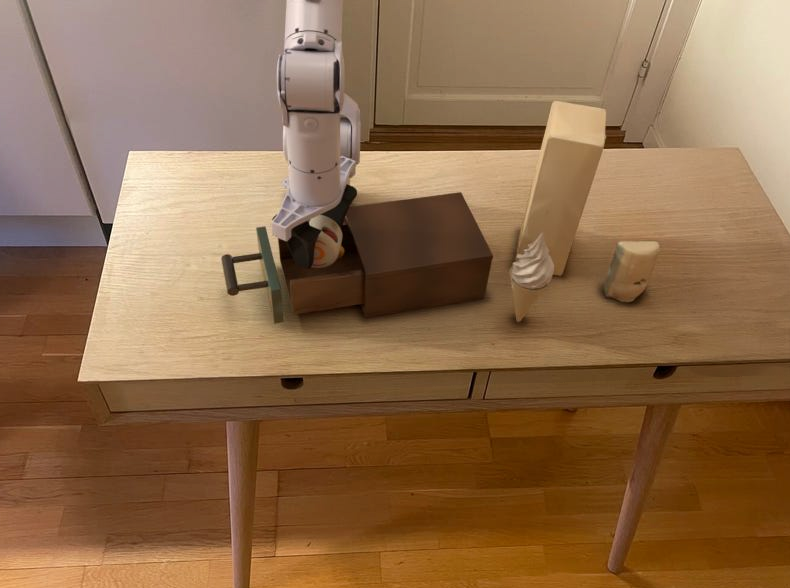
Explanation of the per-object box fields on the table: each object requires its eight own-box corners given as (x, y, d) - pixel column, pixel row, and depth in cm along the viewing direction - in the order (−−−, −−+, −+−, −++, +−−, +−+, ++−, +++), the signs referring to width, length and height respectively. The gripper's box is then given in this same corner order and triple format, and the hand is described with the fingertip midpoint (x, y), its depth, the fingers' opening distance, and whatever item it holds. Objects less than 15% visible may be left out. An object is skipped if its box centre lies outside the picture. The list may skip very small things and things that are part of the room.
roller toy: (297, 243, 96) (295, 207, 91) (346, 249, 95) (346, 213, 91) (289, 267, 93) (287, 230, 88) (340, 273, 93) (340, 237, 88)
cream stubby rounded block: (621, 271, 104) (638, 226, 97) (652, 292, 101) (672, 247, 95) (595, 289, 101) (611, 244, 95) (626, 311, 99) (645, 267, 92)
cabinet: (365, 317, 95) (366, 274, 89) (342, 251, 103) (343, 207, 97) (484, 298, 99) (493, 255, 93) (454, 235, 106) (461, 191, 100)
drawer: (233, 330, 91) (228, 297, 87) (222, 266, 98) (216, 232, 94) (392, 305, 96) (394, 272, 91) (370, 245, 102) (371, 212, 98)
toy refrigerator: (567, 278, 102) (610, 146, 86) (514, 268, 103) (546, 135, 86) (571, 240, 107) (612, 108, 91) (520, 231, 108) (551, 98, 91)
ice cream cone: (507, 338, 94) (530, 249, 83) (493, 309, 97) (513, 219, 86) (544, 331, 95) (571, 242, 84) (529, 303, 99) (553, 213, 87)
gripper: (319, 114, 88) (322, 207, 98) (243, 179, 79) (255, 272, 90) (372, 134, 86) (368, 226, 96) (299, 203, 77) (304, 295, 88)
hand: (317, 250), depth 93 cm, fingers closed on roller toy, 5 cm apart
